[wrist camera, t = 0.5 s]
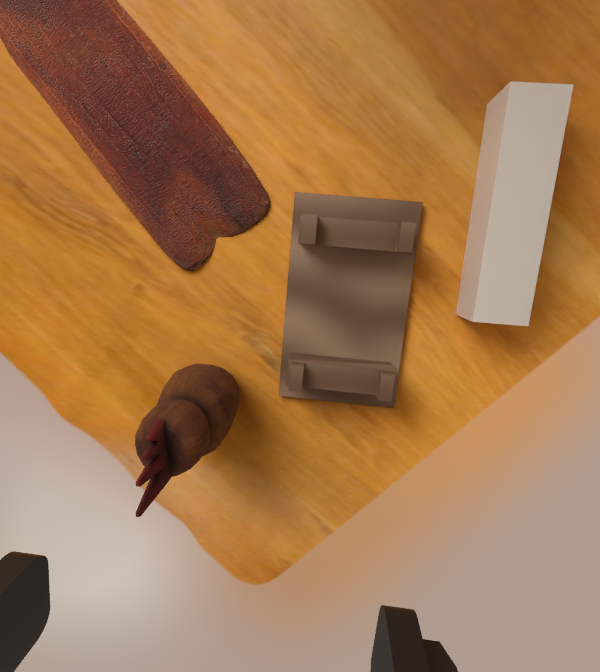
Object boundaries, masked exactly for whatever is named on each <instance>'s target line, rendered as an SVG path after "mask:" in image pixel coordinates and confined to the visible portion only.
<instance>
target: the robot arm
mask: <svg viewBox="0 0 600 672" xmlns="http://www.w3.org/2000/svg"><path fill="white" fill-rule="evenodd" d="M49 612H50V593H49V570H48V560H47V558H46V557H45V556H41V555H34V554H28V553H21V552H11V553H8V554H7V555H5V556H4V557H3V558H2V559H1V560H0V672H14V671H15V669H16V668H17V667H18V665H19V664H20V663H21V661H22V660H23V659H24V657H25V656H26V655H27V653H28V652H29V651H30V649H31V648H32V647H33V645H34V644H35V642H36V641H37V640H38V638H39V637H40V635H41V633H42V632H43V630H44V627H45V625H46V623H47V620H48V616H49ZM371 672H458V671H457V667H456V666H455V664H454V663H453V661H452V660H451V659H450V657H449V655H448V654H447V652H446V651H445V649H444V648H443V646H442V645H441V643H440V642H438V641H431V640H425V639H422V635H421V631H420V626H419V623H418V618H417V615H416V612H415V611H414V610H412V609H405V608H398V607H391V606H384V605H382V606H381V607H380V611H379V616H378V622H377V628H376V634H375V640H374V646H373V652H372V658H371Z"/></svg>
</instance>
